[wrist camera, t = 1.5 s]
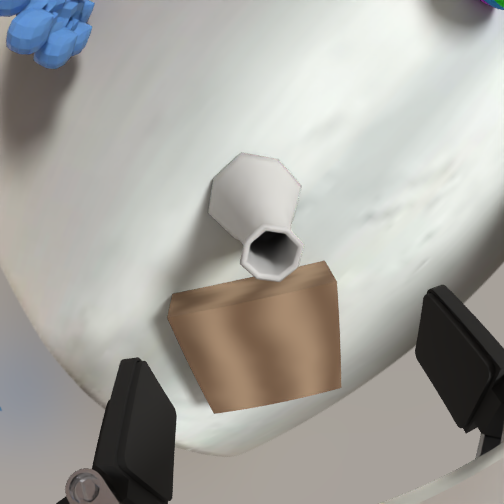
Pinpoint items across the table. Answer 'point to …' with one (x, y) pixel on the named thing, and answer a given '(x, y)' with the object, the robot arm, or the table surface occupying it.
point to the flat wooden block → (261, 338)
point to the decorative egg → (495, 3)
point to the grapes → (48, 28)
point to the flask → (259, 214)
